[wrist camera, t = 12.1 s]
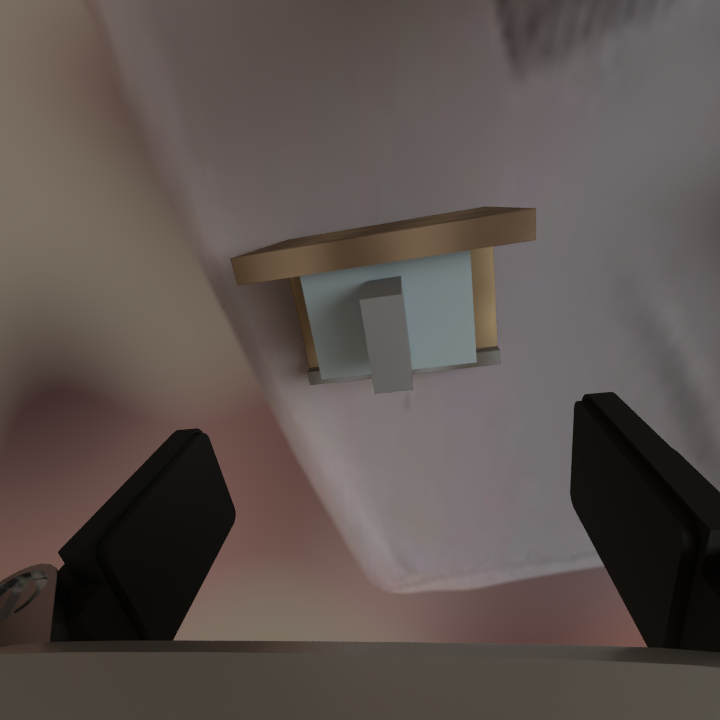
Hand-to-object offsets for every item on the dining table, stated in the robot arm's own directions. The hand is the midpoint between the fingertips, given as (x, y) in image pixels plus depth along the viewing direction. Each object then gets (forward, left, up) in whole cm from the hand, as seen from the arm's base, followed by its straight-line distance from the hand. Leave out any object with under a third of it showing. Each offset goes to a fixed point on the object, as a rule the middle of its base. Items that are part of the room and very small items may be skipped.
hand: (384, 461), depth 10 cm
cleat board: (0, +2, -25) cm, 25 cm away
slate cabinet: (0, 0, -23) cm, 23 cm away
